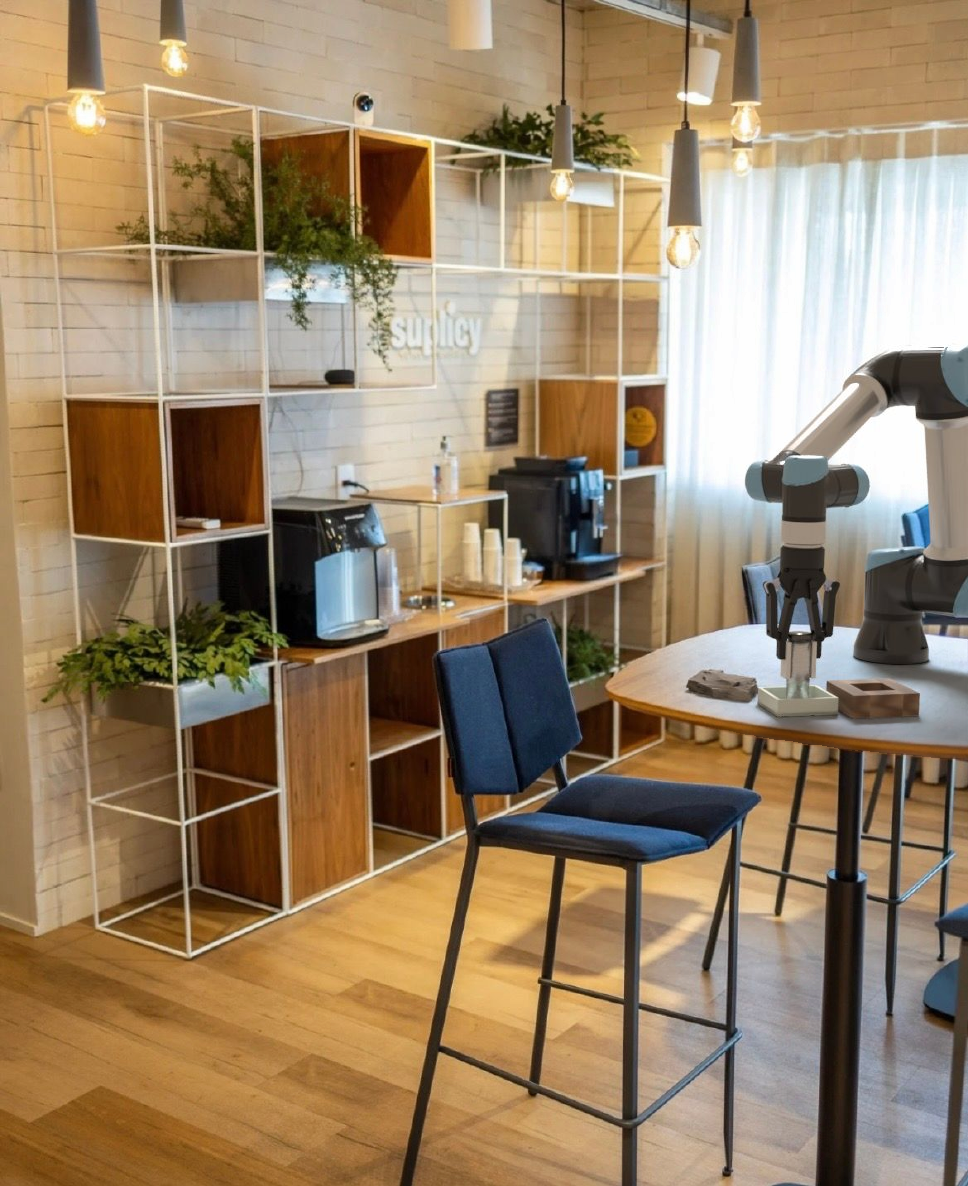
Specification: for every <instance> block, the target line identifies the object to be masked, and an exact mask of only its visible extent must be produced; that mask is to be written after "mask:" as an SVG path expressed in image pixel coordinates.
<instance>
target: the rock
mask: <svg viewBox="0 0 968 1186" xmlns="http://www.w3.org/2000/svg"><path fill="white" fill-rule="evenodd" d="M757 683H758V682H757V679H756V677H753V676H752V677H750V676H745V675H738V674H731V673H725V672H724V670H723V669H709V670H705V669H702V670H699V672H698V673H696V674H694V675H693V676H691V677H690V678H689V679H688V680H687V683H686V685H685V689H688V690H689V691H691V692H695V693H699V694H702V695H703V694H704V695H707V696H711V697H713V699H723V700H724V699H727V700H733V701H739V702H749V703H750V702H751V701H752V700H753V698H754V697H755V696H756V695H758V687H759V686H758V684H757Z"/></svg>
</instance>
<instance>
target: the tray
mask: <svg viewBox="0 0 968 1186" xmlns="http://www.w3.org/2000/svg"><path fill="white" fill-rule="evenodd" d="M757 687H758V694H757V700H756V701H757V702H756V703H757V705H759V706H761V707H762V708H763V709H764V710H766V711H768V712H769V713H770V714H772V715H774V716H775V717H776V716H777V718H782V716H783V718H784V716H790V717H807V716H808V717H810V716H811V715H815V716H834V715H837V716H838V715H839V710H838V697H836V696H835V695H833V694H831V693H829V692H828V691H826V690H825V689H824V688H823V687H820V686H819V685H817V684H814V685H813V684H811V685H809V698H797V699H786V685H785V686H784V685H783V686H760V687H759V686H757ZM811 717H812V716H811Z"/></svg>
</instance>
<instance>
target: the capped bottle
mask: <svg viewBox="0 0 968 1186" xmlns="http://www.w3.org/2000/svg"><path fill="white" fill-rule="evenodd" d="M812 638H813V634H812V633H811V631H810V632H809V631H801V630H793V631H792V630H791V631H789V634H788V639H787V640H788V641H789V642H791V669H790V679H785V680H786V681H785V683H786V684H785V686H786V699H797V698H809V685H810V682H811V681H810V679H811V678H810V659H811V640H812Z"/></svg>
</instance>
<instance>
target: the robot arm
mask: <svg viewBox="0 0 968 1186" xmlns="http://www.w3.org/2000/svg"><path fill="white" fill-rule="evenodd" d="M899 406H906V407H915V408H914V409H915V419H916V420H917V421H918V422H919V423H920V424H922V425H923V426H924V441H925V442H924V443H925V444H924V445H925V460H926V461H925V462H926V464H925V465H926V478H927V481H926V482H927V500H928V514H929V515H928V517H929V534H930V535H929V538H930V542H929V544H928V546H927V547H926V548H925V547H924V546H899V547H898V546H897V547H888V548H879V549H873V550H871V551H870V552H869V553H868V554H867V556H866V562H865V567H864V592H863V593H864V597H863V619H862V623H861V625H860V628H859V630H858V633H857V636H856V639H855V641H854V644H853V653H852V654H853V655H852V656H853V657H855V658H857V659H858V660H859V659H860V660H862V661H867V662H871V663H876V664H877V663H878V664H879V663H880V664H889V665H890V664H892V665H911V664H919V663H924V662H927V661H928V660H929V658H930V647H929V644H928V639H927V637H926V634H925V630H924V627H923V622H922V621H923V620H922V618H923V613H927V614H935V615H943V616H949V617H955V618H957V619H958V618H959V619H960V618H964V619H967V618H968V345H964V344H962V345H961V344H956V343H952V344H951V343H949V344H927V345H923V344H922V345H900V346H896V347H893V348H890V349H888V350H885V351H883V352H882V353H879V354H877V355H875V356H874V357H872V358H871V359H869V360H867V361H866V362H865V363H863V364H862V365H860V366H859V367H857V369H856V370H854V371H853V373H851V374H850V375H849V376H848V377H847V378H846V379H845V381H844V382H843V384H842V390H841V391H840V392H839V393H838V394H837V395H836V396H835V397H834V398H833V399H832V400H831V401H830V402H829V403H828V404H827V405H826V406H825V407H824V408H823V409H822V410H821V411H820V412H819V413H818V414H817V415H816V416H815V417H814V418H813V419H812V420H811V421H810V422H809V423H808V424H807V425H806V426H805V427H804V428H803V429H802V430H801V431H800V432H799V433H798V434H796V436H795V437H794V438H792V440H790V442H788V444H787V445H786V446H785V447H784V448H782V450H781V451H780V452H779V453H778V454H777V455H776V456H774V457H773V459H771V460H767V459H764V460H758V461H755V462H752V463H750V465H749V467H748V469H747V470H746V473H745V477H744V487H745V489H746V494H747V495H748V496H749V497H750V498H751V499H753V500H755V501H759V502H766V503H768V504H772V503H774V504H782V506H781V508H782V510H781V511H782V512H781V513H782V514H781V529H780V531H781V532H780V542H781V543H782V544H783V545H782V546H781V547H780V548H779V549H780V550H779V551H780V552H779V553H780V555H779V573H777V576H776V578H774V579H772V580H770V581H767V580H765V581H764V582H763V583H762V587H763V590H764V593H765V620H766V621H765V624H766V625H765V631H766V632H765V633H766V636H767V637H769V638H771V639H774V640H775V641H776V649H775V650H776V658H777V660H780V677H782V678H783V679H785V680H786V679H790V669H791V642H789V641H788V634H789V632H790V630H791V626H792V621H793V616H794V611H795V607H796V605H797V603H798V600H800V599H804V602H805V603H806V610H807V611H806V612H807V616H808V617H807V618H808V623H809V628H810V629H809V630H810V633H812V634H813V638H812V640H811V659H810V679H816V678H817V677H816V676H817V673H816V672H817V659H821V658H822V647H823V645H822V643H823V642H824V641H825V639H826V638H831V637H832V636H833V634H834V623H835V611H836V597H837V595H838V594H837V593H838V591H839V589H840V588H841V587H840V586H841V583H840V582H839V581H837V580H834V579H829V578H827V575H826V573H825V570H824V569H825V558H826V557H825V556H826V555H825V554H826V552H825V550H826V549H825V547H824V546H822V545H824V544H825V543H826V530H827V529H826V527H827V522H826V521H827V509H836V508H850V507H852V506H857V505H859V504H861V503H863V501H864V500H865V499H866V498H867V497H868V494H869V492H870V486H871V485H870V478H869V475H868V474H867V472H866V470H864V469H863V467H861V466H859V465H858V464H857V465H856V464H850V463H841V464H829V460H831V459H832V457H834V455H835V454H836V453H838V451H839V450H841V448H842V447H843V446H844V445H846V443H847V442H848V441H849V440H851V438H852V437H853V436H854V435H855V434H856V433H857V432H858V431H859V430H860V429H861V428H862V426H864V424H866V423H867V422H868V421H869V419H871V418H875V417H878V416H880V415H882V414H883V413H884V412H885V411H886V410H887V409H889V408H893V407H899ZM822 586H823V591H824V592H823V602H822V603H823V604H822V615H821V616H820V610H819V598H818V592H819V590H820V589H821V588H822ZM779 587H781V589H782V590H783V591H784V595H783V604H782V609H781V613H780V618H778V617H779V616H778V611H779V610H778V609H779V608H778V605H779V604H778V602H779V601H778V592H779ZM778 619H779V622H778Z"/></svg>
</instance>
